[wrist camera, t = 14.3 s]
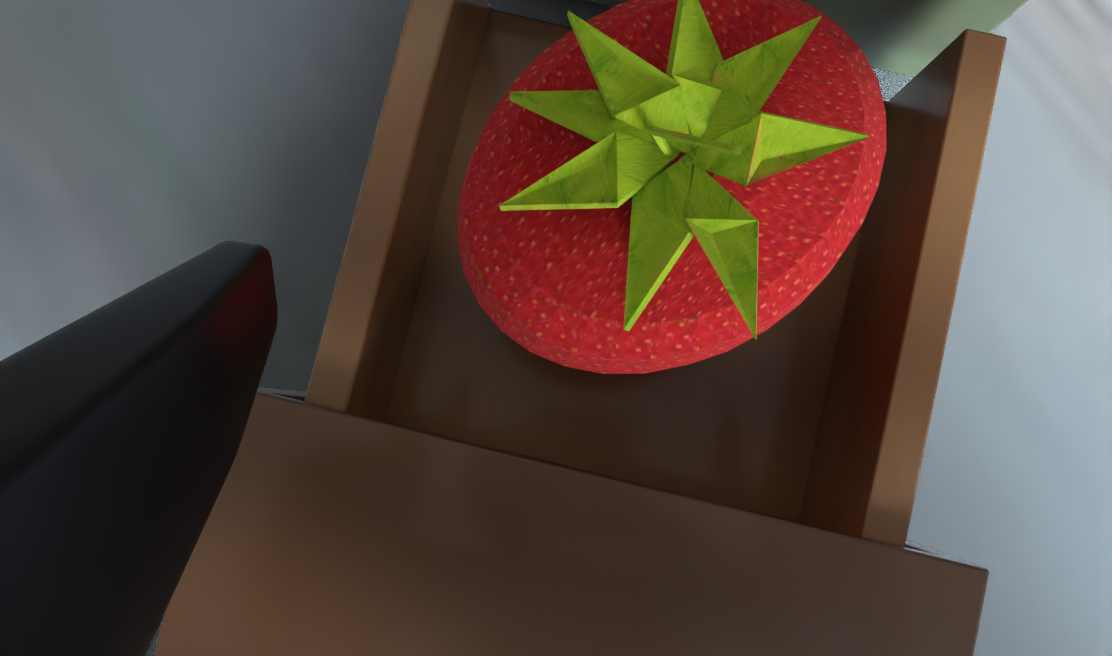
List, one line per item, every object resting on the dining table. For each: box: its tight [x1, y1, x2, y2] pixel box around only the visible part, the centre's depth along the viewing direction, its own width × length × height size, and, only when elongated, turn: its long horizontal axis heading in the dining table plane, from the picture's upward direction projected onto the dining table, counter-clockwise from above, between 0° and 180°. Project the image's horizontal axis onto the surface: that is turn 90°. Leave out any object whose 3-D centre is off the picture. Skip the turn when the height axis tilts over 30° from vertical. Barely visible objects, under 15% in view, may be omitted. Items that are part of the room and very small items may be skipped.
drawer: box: [304, 0, 1028, 547], centre depth 19 cm, size 20×12×5 cm, turn 166°
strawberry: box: [457, 0, 886, 374], centre depth 16 cm, size 6×8×10 cm
